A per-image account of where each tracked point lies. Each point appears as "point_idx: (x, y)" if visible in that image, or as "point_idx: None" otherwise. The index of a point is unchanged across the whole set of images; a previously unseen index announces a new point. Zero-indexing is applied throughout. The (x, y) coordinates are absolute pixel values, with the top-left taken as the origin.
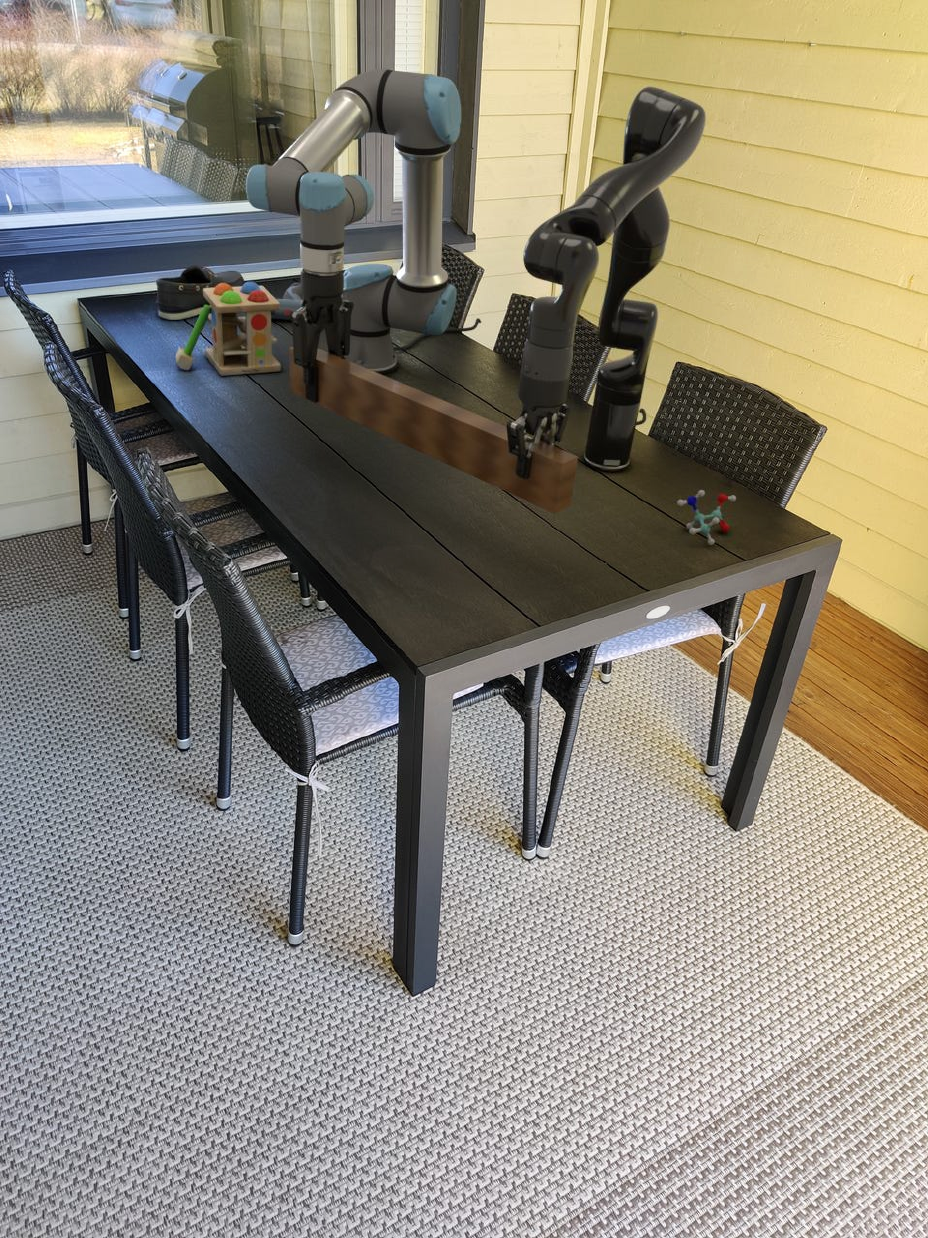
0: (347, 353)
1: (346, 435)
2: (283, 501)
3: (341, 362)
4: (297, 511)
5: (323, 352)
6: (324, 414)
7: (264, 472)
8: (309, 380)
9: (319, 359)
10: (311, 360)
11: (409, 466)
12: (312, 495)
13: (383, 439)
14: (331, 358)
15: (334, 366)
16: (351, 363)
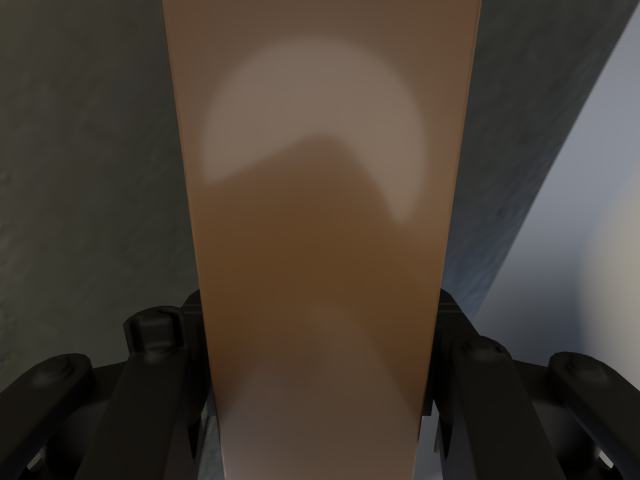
0: (63, 361)
1: (173, 266)
2: (549, 87)
3: (293, 200)
4: (574, 13)
5: (256, 463)
6: None
7: (458, 236)
8: (448, 300)
9: (409, 378)
10: (521, 385)
11: (138, 13)
12: (474, 62)
13: (103, 194)
14: (299, 338)
15: (449, 153)
16: (211, 100)
